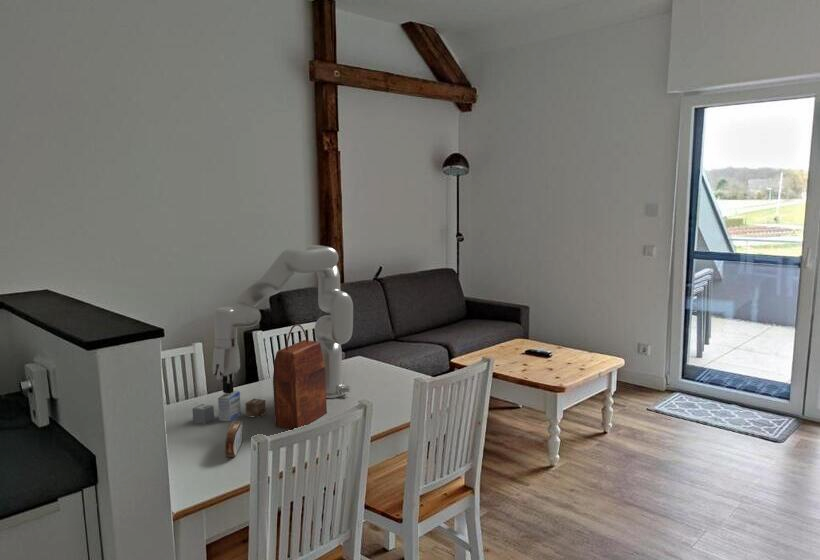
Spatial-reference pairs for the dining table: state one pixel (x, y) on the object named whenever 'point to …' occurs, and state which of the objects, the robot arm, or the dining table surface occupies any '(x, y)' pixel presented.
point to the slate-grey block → (203, 413)
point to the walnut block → (255, 407)
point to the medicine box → (229, 406)
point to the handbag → (299, 384)
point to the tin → (234, 439)
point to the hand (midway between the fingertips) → (228, 392)
